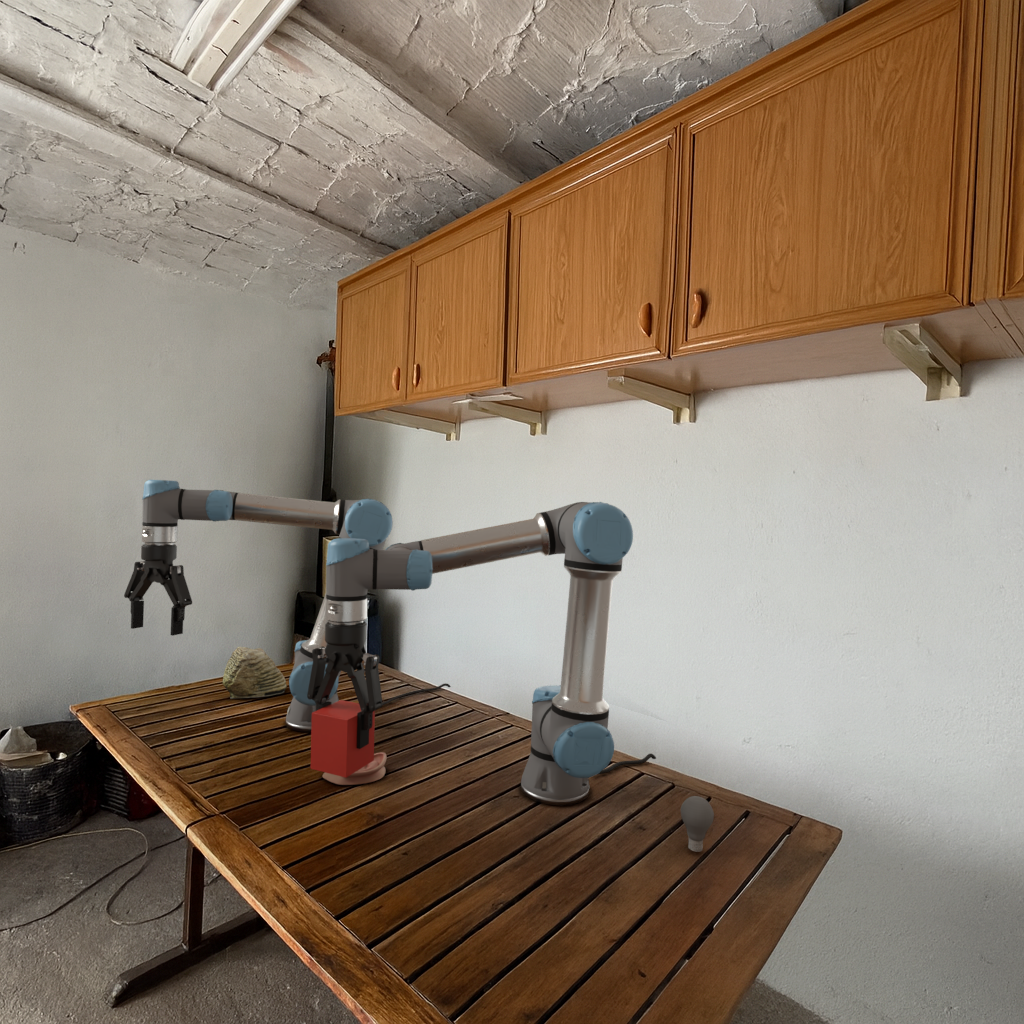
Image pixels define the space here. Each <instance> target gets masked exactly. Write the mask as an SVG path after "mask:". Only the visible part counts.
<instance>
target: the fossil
mask: <svg viewBox="0 0 1024 1024" xmlns="http://www.w3.org/2000/svg"><path fill="white" fill-rule="evenodd" d="M222 676H223V677H222V685H223V687H224V688H225V690H226V691H228V693H229V698H230V699H250V698H264V697H271V696H275V695H281V694H284V693H285V691H286V689H287V687H288V686H287V680H286V678H285V676H284V674H283V673H282V672H281V669H279V668H278V667H277V665H276V663H275V662H274V660H273V659H272V658H271V657H270V656H269V655H268V654H267V653H266V652H265V650H264V649H263V648H260V647H258V648H251V647H247V646H246V647H245V646H238V647H237V648H236V649H235V650H233V651H232V653H231V656H230V657H229V659H228V660H227V663H226V666H225V668H224V671H223V675H222Z"/></svg>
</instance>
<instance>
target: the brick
mask: <svg viewBox="0 0 1024 1024" xmlns="http://www.w3.org/2000/svg"><path fill="white" fill-rule="evenodd" d="M360 711H361V708H360V705H359V702H354V701H348V700H342V699H339V701H338V702H335V703H333V704H331V705H328V706H326V707H324V708H322V709H319V710H317V711H315V712H312V726H311V732H310V738H311V739H310V741H311V742H310V770H313V771H318V772H322V773H330V774H334V775H338V776H342V777H348V776H350V775H351V774H353V773H354V772H356V771H358V770H359V769H361V768H362V767H364V766H366V765H367V764H369V763H370V762H372V761H374V754H375V725H376V723H375V722H376V710H375V711H373V725H372V728H370V729H369V744H368V745H366V746H364V747H362V748H361V749H358V748H357V713H358V712H360Z"/></svg>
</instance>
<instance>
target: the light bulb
mask: <svg viewBox="0 0 1024 1024" xmlns="http://www.w3.org/2000/svg"><path fill="white" fill-rule="evenodd" d="M680 817H681V820H682V822H683V824H684V826H685V829H686V834H687V836H688V837H687V838H688V845H687V847H688V849H689V850H690V851H692V852H695V853H699V852H702V851H703V848H704V847H703V846H704V839H705V838H706V833H707V831H708V830H709V829H710V828H711V826H712V824H713V822H714V818H715V813H714V809H713V807H712V805H711V804H710V802H709V801H708V800H707V799H705V797H702V796H699V795H692V796H689V797H687V798H686V799H685V800H684V801H683V802H682V803H681V805H680Z"/></svg>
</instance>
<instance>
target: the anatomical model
mask: <svg viewBox="0 0 1024 1024" xmlns="http://www.w3.org/2000/svg"><path fill="white" fill-rule="evenodd" d="M386 762H387V754H386V752H383V751H382V752H376V753H374V761H372V762H370V763H369V764H367V765H366V766H364V767H362V768H361V769H359V770H358V771H356V772H354V773H353V774H351V775H350V776H348V777H342V776H338V775H334V774H330V773H325V772H323V773H322V776H321V777H322V778H323V779H324V780H326V781H328V782H330V783H333V784H335V785H340V786H353V785H362V784H368V783H372V782H375V781H379V780H380V779H382V778H383V777H384V776H385V774H386V767H385V765H386Z"/></svg>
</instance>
